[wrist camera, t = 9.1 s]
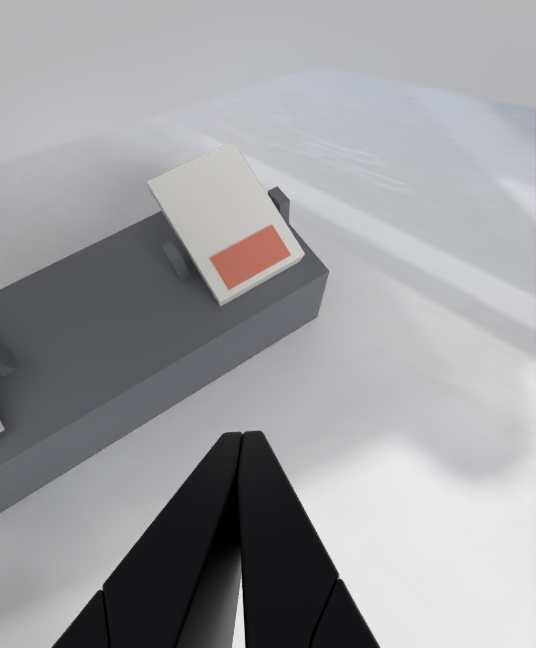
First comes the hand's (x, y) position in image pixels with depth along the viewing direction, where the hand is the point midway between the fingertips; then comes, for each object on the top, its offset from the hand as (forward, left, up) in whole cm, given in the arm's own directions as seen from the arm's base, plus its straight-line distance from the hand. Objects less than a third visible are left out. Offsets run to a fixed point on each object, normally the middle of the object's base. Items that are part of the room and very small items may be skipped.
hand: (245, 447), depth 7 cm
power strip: (+10, +4, -13) cm, 17 cm away
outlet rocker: (+10, -4, -6) cm, 12 cm away
